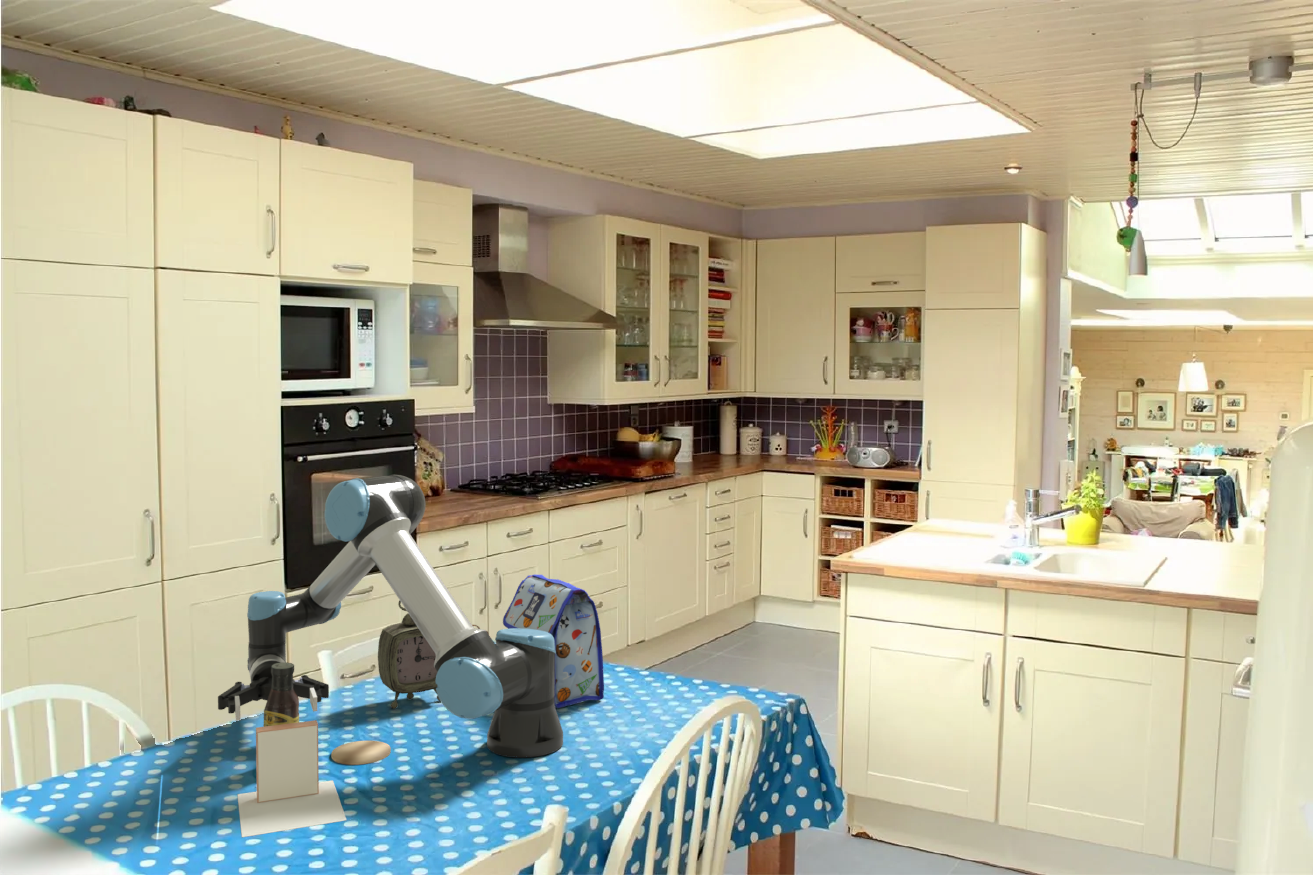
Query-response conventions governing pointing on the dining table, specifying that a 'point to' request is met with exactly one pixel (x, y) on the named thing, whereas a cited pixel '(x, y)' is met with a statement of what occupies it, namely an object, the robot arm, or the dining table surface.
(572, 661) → the lunch bag
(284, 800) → the white mat
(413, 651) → the tabletop clock
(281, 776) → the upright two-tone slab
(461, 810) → the dining table surface
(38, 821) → the dining table surface
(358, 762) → the cork coaster
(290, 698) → the sauce bottle
